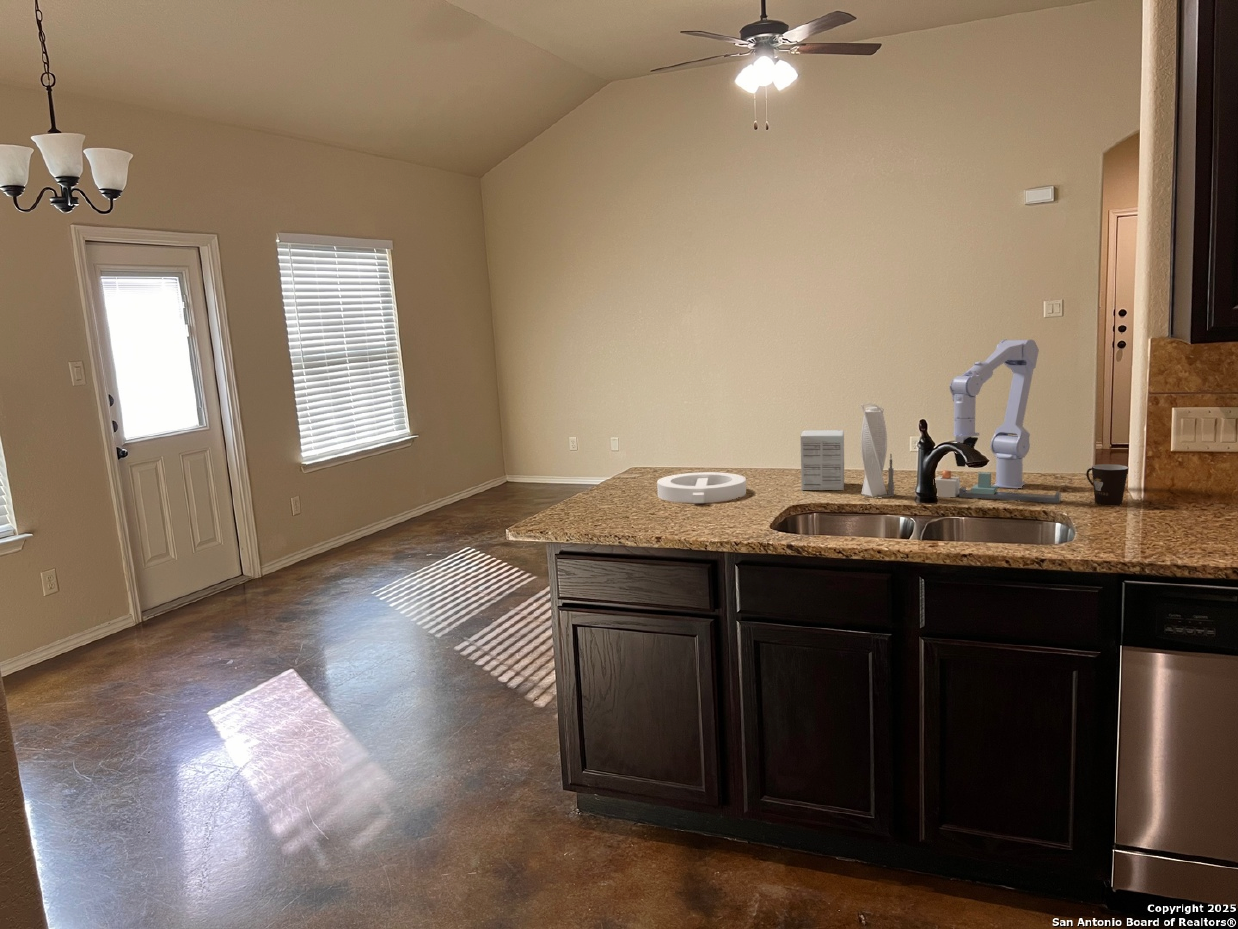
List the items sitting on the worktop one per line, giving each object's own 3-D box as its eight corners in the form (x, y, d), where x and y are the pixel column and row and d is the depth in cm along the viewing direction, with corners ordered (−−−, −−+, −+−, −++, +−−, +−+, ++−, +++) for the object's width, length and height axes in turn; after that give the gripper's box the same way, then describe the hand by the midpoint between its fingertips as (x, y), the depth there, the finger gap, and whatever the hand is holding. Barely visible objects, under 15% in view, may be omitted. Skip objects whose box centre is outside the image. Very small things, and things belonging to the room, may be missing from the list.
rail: (962, 494, 256) (962, 486, 256) (1060, 500, 242) (1060, 492, 242) (959, 497, 253) (959, 488, 253) (1058, 503, 239) (1059, 494, 239)
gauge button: (943, 476, 258) (943, 470, 257) (951, 477, 256) (951, 470, 256) (941, 478, 256) (941, 471, 255) (950, 478, 254) (950, 472, 254)
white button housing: (938, 492, 261) (938, 476, 260) (959, 493, 258) (959, 477, 257) (933, 496, 256) (933, 479, 255) (954, 497, 253) (955, 480, 252)
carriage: (975, 489, 255) (975, 470, 254) (997, 490, 252) (997, 472, 251) (971, 493, 250) (971, 474, 249) (993, 494, 247) (994, 475, 246)
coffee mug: (1131, 506, 231) (1133, 469, 230) (1096, 506, 233) (1097, 470, 232) (1116, 497, 243) (1117, 462, 241) (1082, 497, 244) (1083, 462, 243)
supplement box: (803, 483, 286) (802, 430, 283) (844, 483, 283) (844, 429, 280) (800, 491, 274) (799, 435, 271) (843, 491, 270) (843, 435, 267)
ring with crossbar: (697, 508, 258) (697, 492, 257) (640, 495, 280) (639, 481, 280) (764, 493, 274) (764, 478, 274) (705, 483, 297) (704, 469, 296)
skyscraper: (872, 499, 256) (872, 404, 251) (854, 495, 263) (854, 402, 259) (895, 495, 259) (895, 402, 255) (877, 491, 267) (876, 400, 262)
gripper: (974, 420, 242) (973, 469, 244) (984, 414, 254) (983, 460, 257) (948, 420, 246) (947, 467, 248) (958, 414, 258) (957, 459, 260)
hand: (963, 464), depth 253 cm, fingers open, 7 cm apart
